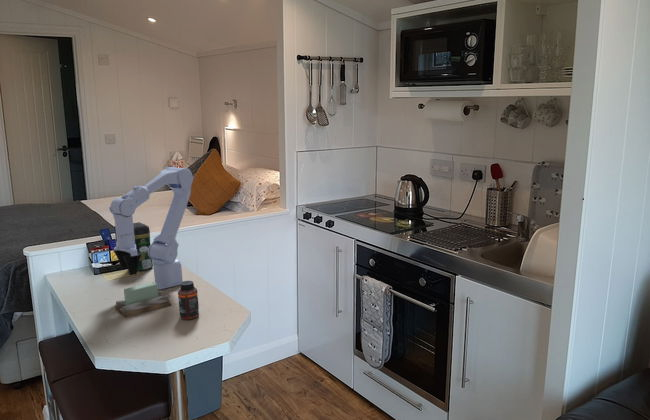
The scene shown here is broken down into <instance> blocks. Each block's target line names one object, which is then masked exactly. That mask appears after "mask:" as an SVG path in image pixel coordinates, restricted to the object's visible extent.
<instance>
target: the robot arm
mask: <svg viewBox="0 0 650 420" xmlns="http://www.w3.org/2000/svg"><path fill="white" fill-rule="evenodd" d="M194 178H195V177H194V176H193V173H192V171H191V169H189V168H188V167H183V168H182V167H173V166H166V167H165V169H162V170H160V173H159V174H157V175H156V176H155V177H154V178H152V179H151V180H149V181H148V182H147V183H146V184H145V185H135V186H132V189H131V190H129V192H127V193H123V194H122V196H121V197H116V198H114V199H113V200H112V201H111V203H110V206H109V207H108V209H109V212H110V213H111V214H112V215H113V220H114V227H115V236H116V243H115V244H116V246H115V247H113V253H114V254H115V256H116V258H117V261H118V263H119V266H120V268H121V270H123V271H124V270H127V271H128V274H129V275H130V276H133V275H137V272H138V271H137V267H138V262H139V259H140V257H141V254H140V253H139V254H138V253H137V249H136V244H135V237H134V227H133V223H134V220H133V217H134V216H133V215H134V214H135V212H136V209H137V208H138V207H140V206H141V205H143V204H144V203H145V202H147V201H148V200H149V199H150V194H151V195H152V194H153V193H155V192H156V191H157V190H160V188H162V187H164V186H166V185H167V186H168V187H169V188H170V189H171V191H172V192H173V197H172V200H171V203H170V205H169V209H168V212H167V214H166V218H165V220H164V222H163V226H162V228H161V231H160V234H159V235H156V236H155V237H154V238H153V241H152V243H150V244H151V245H150V246H149V248H148V255H149V257H150V258H151V259H152V262H153V267H152V268H153V276H154V281H153V282H154V283H156V284H157V287H158V291H159V290H161V291H162V290H164V289H169V288H172V287H173V288H174V287H176V286H180V283H181V282H183V269H182V268H183V267H182V264H181V262H180V259H178V258H177V257H178V248H179V243H178V241H177V239H176V237H177V234H178V231H179V228H180V226H181V223H182V220H183V218H184V217H183V216H184V215H185V212H186V209H187V206H188V203H189V199H190V197H191V193H192V192H191V191H192V184H193V181H194Z"/></svg>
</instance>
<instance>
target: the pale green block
mask: <svg viewBox="0 0 650 420" xmlns="http://www.w3.org/2000/svg"><path fill="white" fill-rule="evenodd" d="M154 282H155V281H153V282H149V283H144V284H140V285H136V286H135V285H134V286H132V287H128V288H124V289H123V294H124V299H125V306H126V305H130V304H134V303H138V302H142V301H145V300H149V299H153V298H157V297H158V291H159V289H158V287H157V284H156V283H154Z"/></svg>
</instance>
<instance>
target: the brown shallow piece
mask: <svg viewBox="0 0 650 420" xmlns="http://www.w3.org/2000/svg"><path fill="white" fill-rule="evenodd" d="M171 305H172V302H171V301H170V297H169V295H168V294H164V295H163V292H162V289H161V290H159V289H158V297H157V298H153V299H149V300H145V301H142V302H138V303H134V304H130V305H126V306H125V298H123V299H120V300H116V301H115V304H114V308H115V309H116V310H117V311H118V312H119V313H120V314H121V315H122V316H124V317H125V318H129V317H133V316H136V315H139V314H143V313H146V312H147V313H148V312H150V311H154V310H158V309H161V308H165V307H166V308H167V307H168V306H171Z"/></svg>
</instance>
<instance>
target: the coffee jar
mask: <svg viewBox="0 0 650 420" xmlns="http://www.w3.org/2000/svg"><path fill="white" fill-rule="evenodd" d="M133 227H134V237H135V244H136V249H137V253H138V254H139V253H140V254H141V257H140V259H139V262H138V267H137V272H139V271H147V270H150V269H152V268H154V267H153V262H152V259H151V258H150V257H149V255H148V248H149V246H150V245H151V244H152V243H151V231H150V226H148V225H147V224H145V223H142V222H140V221H139V222H133Z"/></svg>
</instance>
